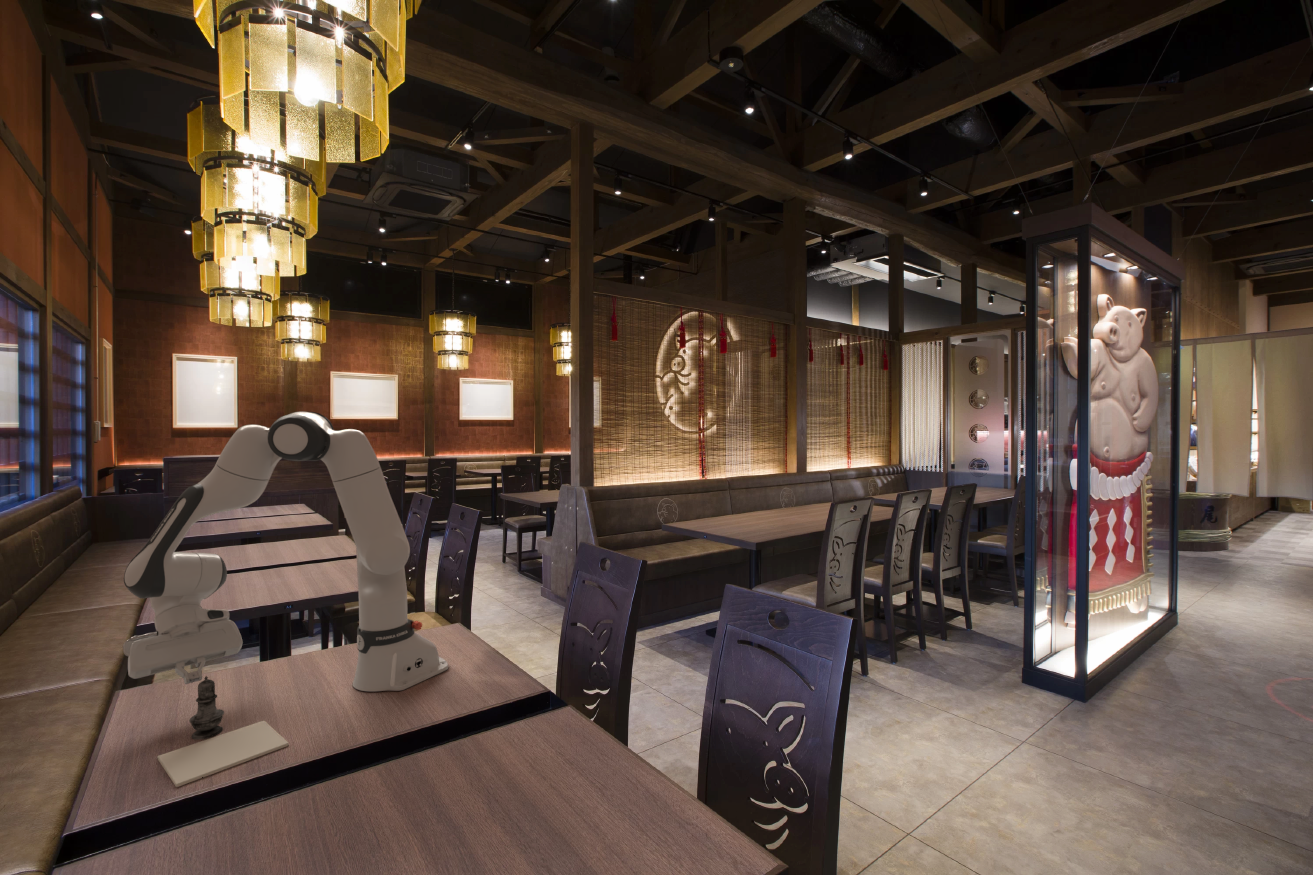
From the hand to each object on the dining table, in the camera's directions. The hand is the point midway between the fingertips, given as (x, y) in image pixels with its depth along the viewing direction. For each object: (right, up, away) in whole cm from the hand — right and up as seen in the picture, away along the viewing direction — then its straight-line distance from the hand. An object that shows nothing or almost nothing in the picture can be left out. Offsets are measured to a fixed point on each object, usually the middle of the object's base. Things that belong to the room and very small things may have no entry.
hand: (193, 680), depth 132 cm
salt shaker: (+7, -9, -6) cm, 13 cm away
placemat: (+16, -9, -13) cm, 22 cm away
